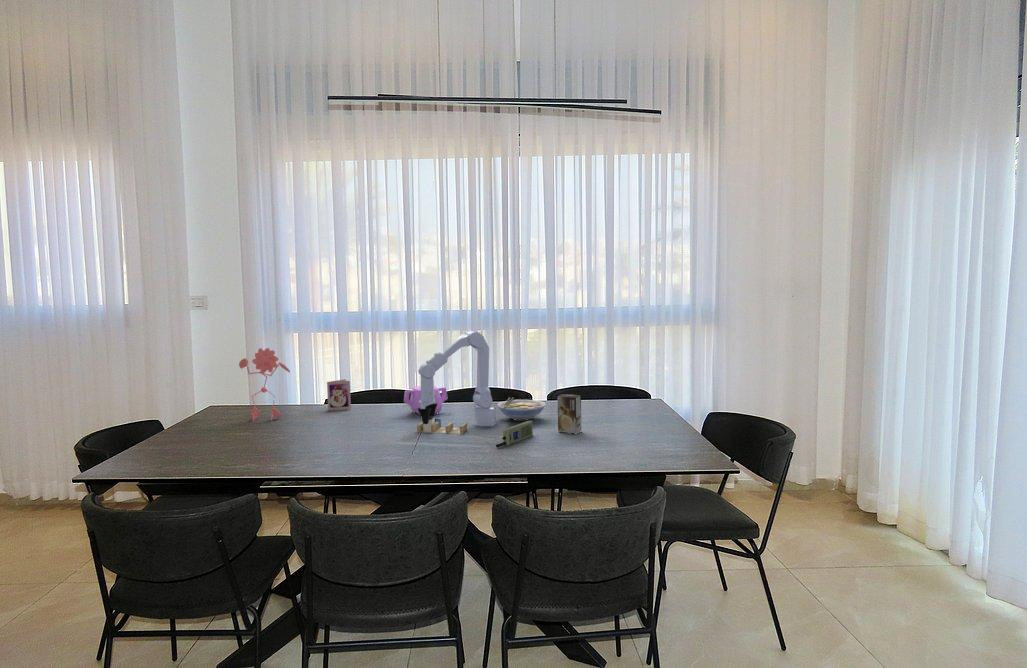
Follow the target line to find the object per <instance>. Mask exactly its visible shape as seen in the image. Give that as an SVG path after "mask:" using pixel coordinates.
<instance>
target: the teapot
mask: <svg viewBox="0 0 1027 668" xmlns="http://www.w3.org/2000/svg"><path fill="white" fill-rule="evenodd" d="M434 398H435V403H437V404H438V405H437V407H436V410H435V414H434V415H438V414H439V413H440V412H441V411H442V410H443V409H442V408H443V403H444V402H446V400H448V399H449V397H448V392H447V388H446V387H445V386H441V387H437V386H435V385H434ZM419 401H421V385H420V386H414V387H412V389H407V390H405V391H404V395H403V403H405V404H406V405H408V406H409V407H410V409H411V410H412V411H413V413H414V412H416V413H415V414H418V415H420V413H419V411H418V408H420V404H421V403H419ZM437 413H438V414H437Z"/></svg>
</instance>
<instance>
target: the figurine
mask: <svg viewBox="0 0 1027 668" xmlns="http://www.w3.org/2000/svg"><path fill="white" fill-rule="evenodd" d="M275 354H276V352H275V350H273V349H272V350H271V348H269V347H266V348H265V349H264V350H263V348H262V347H259V348H258V350H257V352H255V353H254V358H253V359H252V360H251V361H252V363H253V364H254V365H255V369H256V370H260V371H257V372H250V370H249V365H248V364H249V361H248V359H247V358H246V357H245V358H242V359H241V360H240V361H239V363H238V366H239V369H240V370H242V369H244V368H245V367H246V369H247V370H246V371H247V373H248V375H254V374H261V375H263V376H264V377H265V380H264V384H263V385H264V386H262V387H261V389H260V391H258V392H256V393H255V394H253V395H251V398H252V403H253V408H252V409H251V411H250V414H251V417H252V422H254V421H255V420H256V418H258V417H259V416H260V415H259V414H260V410H259V408H257V407H256V406H255V401H254V396H256V395H257V394H259V393H266V392H267V393H269V394H270V395H272V396H273V397H275V395H274V393H272V392H270V391H269V390H268V389H267V387H266V383H267V380H268V377H272V376H273V375H274V372H275V371H276V370H277V369H278V367H281V368H282V369H283V370H285V371H286V372H287V373H289V374H290V373H291V370H290V369H289V368H288V367H287V366H286V365H285V364H283V363H282V362H278V361H279V357H278V356H277V355H275ZM277 362H278V364H277ZM267 371H268V373H270V374H268V373H266V372H267ZM272 402H273V405H272V406H273V407H272V408H270V412H271V418H270V421H271V422H273V417H274V416H275V417H276V418H278V419H281V417H282V416H281V415H282V414H281V413H280V411H279V410H277V408H275V401H272ZM283 421H285V419H284V420H283Z"/></svg>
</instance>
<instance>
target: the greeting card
mask: <svg viewBox="0 0 1027 668" xmlns="http://www.w3.org/2000/svg"><path fill="white" fill-rule="evenodd" d="M346 379H347V378H346ZM346 379H339V380H337V379H336V380H331V381H326V390H327V391H326V393H327V411H329V410H330V411H343V410H345V409H347V410H351V409H352V407H351V406H352V405H351V404H352V403H351V381H350V380H346ZM330 411H329V412H330ZM345 411H346V410H345Z"/></svg>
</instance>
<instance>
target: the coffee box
mask: <svg viewBox="0 0 1027 668" xmlns="http://www.w3.org/2000/svg"><path fill="white" fill-rule="evenodd" d="M556 398H557V432H558V431H559V432H558V433H560V432H568V433H567V434H571V433H578V432H580V431H581V430H582V429H583V428H582V395H579V394H567V393H562V394H559V395H558V396H557V397H556ZM582 431H583V430H582ZM582 431H581V432H582ZM581 432H580V433H581ZM578 434H579V433H578Z"/></svg>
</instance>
